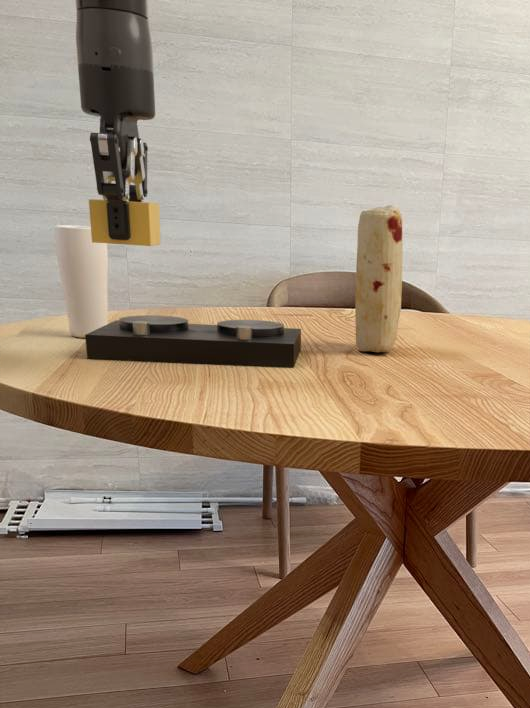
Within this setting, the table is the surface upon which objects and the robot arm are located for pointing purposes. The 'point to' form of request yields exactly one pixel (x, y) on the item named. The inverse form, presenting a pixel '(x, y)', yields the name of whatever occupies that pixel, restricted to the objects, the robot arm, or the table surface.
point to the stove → (195, 342)
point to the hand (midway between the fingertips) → (126, 237)
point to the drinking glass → (83, 278)
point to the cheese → (141, 223)
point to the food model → (378, 278)
